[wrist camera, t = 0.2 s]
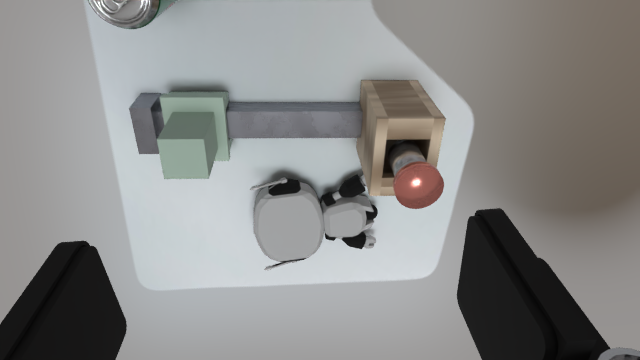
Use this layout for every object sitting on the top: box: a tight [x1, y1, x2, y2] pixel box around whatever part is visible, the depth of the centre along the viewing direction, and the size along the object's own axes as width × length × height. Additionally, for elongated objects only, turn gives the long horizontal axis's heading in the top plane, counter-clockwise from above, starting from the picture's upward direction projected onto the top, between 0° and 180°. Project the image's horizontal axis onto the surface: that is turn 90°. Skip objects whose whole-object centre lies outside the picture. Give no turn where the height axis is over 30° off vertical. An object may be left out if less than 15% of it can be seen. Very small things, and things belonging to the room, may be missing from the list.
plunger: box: [387, 139, 444, 209], centre depth 38 cm, size 4×4×6 cm
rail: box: [129, 93, 363, 154], centre depth 46 cm, size 5×24×4 cm, turn 89°
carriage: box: [157, 92, 232, 179], centre depth 43 cm, size 7×6×10 cm
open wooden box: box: [356, 80, 446, 196], centre depth 44 cm, size 8×6×10 cm
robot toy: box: [250, 174, 378, 270], centre depth 53 cm, size 12×4×15 cm
